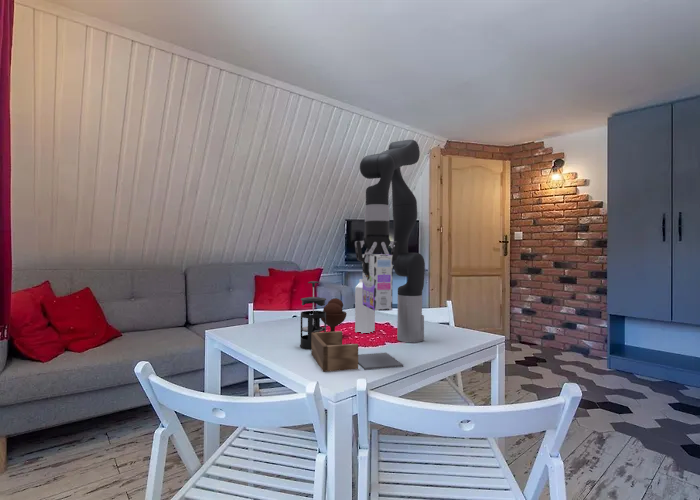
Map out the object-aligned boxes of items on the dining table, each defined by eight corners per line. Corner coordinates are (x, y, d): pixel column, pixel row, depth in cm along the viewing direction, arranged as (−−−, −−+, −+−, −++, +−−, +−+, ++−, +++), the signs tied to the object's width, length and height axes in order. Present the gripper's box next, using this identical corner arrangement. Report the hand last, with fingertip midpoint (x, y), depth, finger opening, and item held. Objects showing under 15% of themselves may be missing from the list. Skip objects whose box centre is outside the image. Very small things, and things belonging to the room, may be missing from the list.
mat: (386, 354, 130) (386, 352, 130) (403, 366, 116) (403, 364, 116) (351, 356, 126) (351, 355, 126) (364, 369, 113) (364, 367, 113)
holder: (341, 351, 133) (341, 331, 132) (358, 368, 114) (358, 344, 114) (311, 353, 130) (311, 332, 130) (323, 371, 111) (323, 346, 111)
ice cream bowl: (321, 333, 162) (321, 296, 162) (348, 334, 160) (348, 297, 160) (315, 339, 151) (315, 299, 151) (344, 340, 150) (344, 300, 150)
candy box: (393, 310, 115) (393, 254, 115) (373, 311, 114) (374, 254, 114) (379, 304, 129) (379, 253, 129) (361, 304, 127) (361, 253, 127)
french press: (322, 350, 134) (323, 282, 134) (296, 349, 135) (296, 282, 135) (329, 342, 145) (330, 280, 145) (305, 341, 147) (305, 279, 147)
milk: (363, 330, 169) (363, 278, 169) (375, 331, 165) (375, 279, 165) (354, 332, 164) (355, 279, 164) (366, 334, 160) (367, 279, 160)
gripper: (394, 221, 127) (393, 273, 127) (351, 220, 123) (350, 274, 123) (403, 220, 120) (403, 275, 120) (358, 218, 116) (357, 276, 116)
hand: (376, 274), depth 121 cm, fingers closed on candy box, 6 cm apart
